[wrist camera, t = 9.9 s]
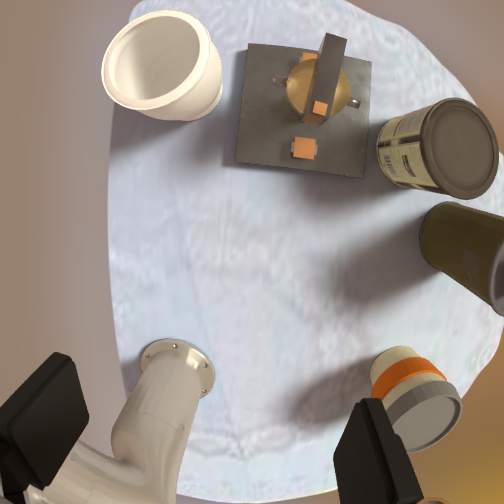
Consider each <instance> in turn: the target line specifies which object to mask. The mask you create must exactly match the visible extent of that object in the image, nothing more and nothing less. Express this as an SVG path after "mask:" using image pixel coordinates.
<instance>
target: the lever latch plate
mask: <svg viewBox="0 0 504 504" xmlns="http://www.w3.org/2000/svg"><path fill="white" fill-rule="evenodd" d="M317 54H318V51H315V50H308V49H301V48H294V47H285V46H276V45H265V44H251V43H248V50H247V59H246V67H245V75H244V84H243V93H242V101H241V110H240V120H239V129H238V139H237V148H236V158H235V162H239V163H250V164H260V165H270V166H279V167H287V168H295V169H303V170H310V171H317V172H324V173H331V174H338V175H344V176H350V177H356V178H363V173H364V164H365V155H366V145H367V134H368V122H369V109H370V91H371V66H372V62H370V61H365V60H361V59H357V58H352V57H348V56H343V61H342V66H341V69H342V70H343V71H344V73H345V74H346V76H347V78H348V80H349V83H350V87H351V94H350V97H353V98H356V99H359V100H361V103H360V106H359V108H358V109H356V108H354V107H351V106H348V105H346V106H345V107H344V108H343V109H342V110H341V111H340V112H339V113H337V114H336V115H335V116H333V117H332V118H329V120H327V121H326V122H325V123H323V124H322V125H321V126H318V125H314V124H311V123H307V122H304V121H301V119H302V116H300V115H299V114H298V113H296V112H295V111H294V110H293V109H292V107H291V106H290V104H289V102H288V100H287V96H286V87H282V86H277V85H273V84H272V80H273V76H274V75H277V76H281V77H285V78H288V77H289V74H290V72H291V71H292V69H293V68H294V67H295V66H296V65H297V64H299V63H300V62H302V61H304V60H307V59H313V58H317Z"/></svg>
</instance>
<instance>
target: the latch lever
mask: <svg viewBox="0 0 504 504" xmlns="http://www.w3.org/2000/svg"><path fill="white" fill-rule="evenodd" d="M346 42H347V39H345V38H342V37H339V36H336V35H332V34H329V33H326V34H325V36H324V39H323V41H322V43H321V46H320V48H319V50H318V54H317V58H313V59H307V60H304V61H302V62H300V63H299V64H297V65H296V66H295V67H294V68H293V69H292V71H291V72H290V74H289V77H288V78H285V77H281V76H277V75H274V76H273V80H272V84H273V85H277V86H282V87H286V96H287V100H288V102H289V104H290V106H291V107H292V109H293V110H294V111H295V112H296V113H298V114H299V115H300V116H302V119H301V121H304V122H307V123H311V124H314V125H318V126H321V125H322V124H323V123H325V122H326V121H327V120H329V118H332V117H333V116H335V115H336V114H337V113H339V112H340V111H341V110H342V109H343V108H344V107H345V106H346V105H348V106H351V107H354V108H356V109H358V108H359V106H360V103H361V100H359V99H356V98H353V97H350V94H351V87H350V83H349V80H348V78H347V76H346V74H345V73H344V71H343V70H342V69H341V66H342V61H343V56H344V52H345V47H346Z"/></svg>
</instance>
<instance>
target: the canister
mask: <svg viewBox="0 0 504 504" xmlns="http://www.w3.org/2000/svg"><path fill="white" fill-rule="evenodd" d="M420 247H421V252H422V255H423V257H424V259H425V260H426V261H427V262H428V263H429V264H430V265H431V266H432V267H434V268H436V269H439V270H441V271H442V272H444V273H445V274H447V275H448V276H450V277H451V278H453V279H454V280H455V281H457V282H458V283H460V284H461V285H462V286H464V287H465V288H467V289H468V290H470V291H471V292H472V293H474V294H475V295H476V296H478V297H479V298H481V299H482V300H483V301H485V302H486V303H487V304H489V305H490V306H491V307H492V308H493V310H494V311H495V312H496V313H497V314H499V315H500V316H503V317H504V217H502V216H498V215H495V214H492V213H488V212H485V211H481V210H477V209H474V208H470V207H466V206H463V205H460V204H458V203H456V202H448V201H446V202H443V203H441V204H439V205H437V206H436V207H434V208H433V209H432V210H431V211H430V212H429V213H428V214H427V216H426V217H425V219H424V222H423V224H422V227H421V231H420Z"/></svg>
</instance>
